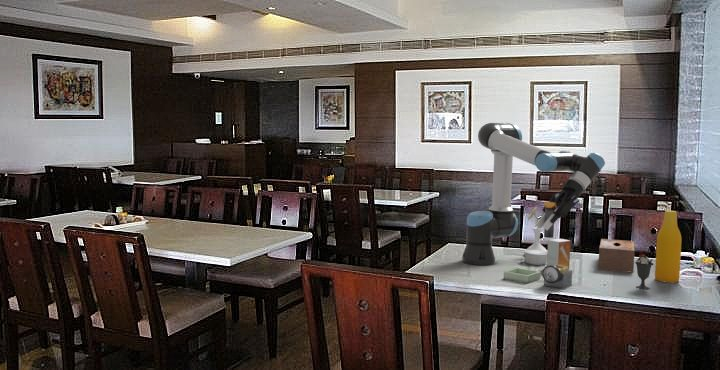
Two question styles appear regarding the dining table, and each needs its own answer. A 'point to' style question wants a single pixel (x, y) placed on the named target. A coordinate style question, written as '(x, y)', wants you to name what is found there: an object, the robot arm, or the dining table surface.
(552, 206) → the orange capped bottle
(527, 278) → the tray
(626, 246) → the tissue box cover
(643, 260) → the sundae
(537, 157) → the robot arm
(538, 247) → the flower in vase
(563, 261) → the small box
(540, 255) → the ramekin
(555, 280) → the tensioner block
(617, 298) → the dining table surface
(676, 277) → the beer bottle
